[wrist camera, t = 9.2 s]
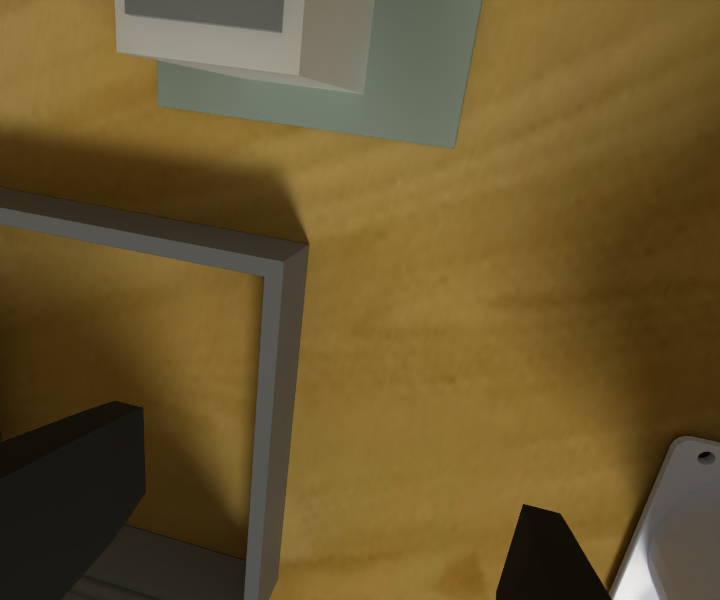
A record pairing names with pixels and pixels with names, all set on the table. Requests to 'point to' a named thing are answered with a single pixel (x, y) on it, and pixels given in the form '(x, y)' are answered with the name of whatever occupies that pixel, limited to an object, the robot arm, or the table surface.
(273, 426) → the case
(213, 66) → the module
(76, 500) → the robot arm
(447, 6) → the rubber mat
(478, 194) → the table surface
